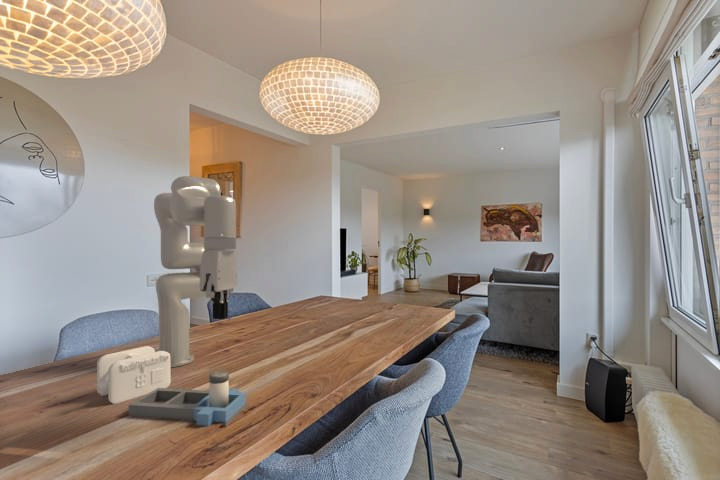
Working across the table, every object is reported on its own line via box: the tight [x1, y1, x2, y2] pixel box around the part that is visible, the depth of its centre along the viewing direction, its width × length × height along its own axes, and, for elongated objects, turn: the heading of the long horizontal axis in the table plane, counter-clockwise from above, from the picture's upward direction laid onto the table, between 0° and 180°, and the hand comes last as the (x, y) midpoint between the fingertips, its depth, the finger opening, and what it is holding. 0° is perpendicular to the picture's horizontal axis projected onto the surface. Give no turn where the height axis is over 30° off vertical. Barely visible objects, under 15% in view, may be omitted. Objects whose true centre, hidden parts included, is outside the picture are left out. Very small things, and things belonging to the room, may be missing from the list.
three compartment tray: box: [128, 387, 247, 427], centre depth 88 cm, size 25×14×4 cm, turn 81°
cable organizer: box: [96, 345, 171, 405], centre depth 99 cm, size 15×11×12 cm
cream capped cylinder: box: [208, 370, 230, 408], centre depth 87 cm, size 4×4×9 cm
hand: (220, 318), depth 89 cm, fingers closed
